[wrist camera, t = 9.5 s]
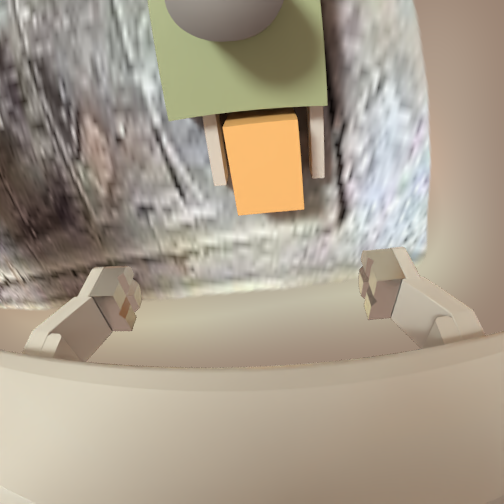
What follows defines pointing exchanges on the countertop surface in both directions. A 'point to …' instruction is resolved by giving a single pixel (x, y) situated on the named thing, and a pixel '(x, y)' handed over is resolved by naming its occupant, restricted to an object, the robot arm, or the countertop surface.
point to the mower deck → (241, 64)
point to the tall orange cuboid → (264, 160)
